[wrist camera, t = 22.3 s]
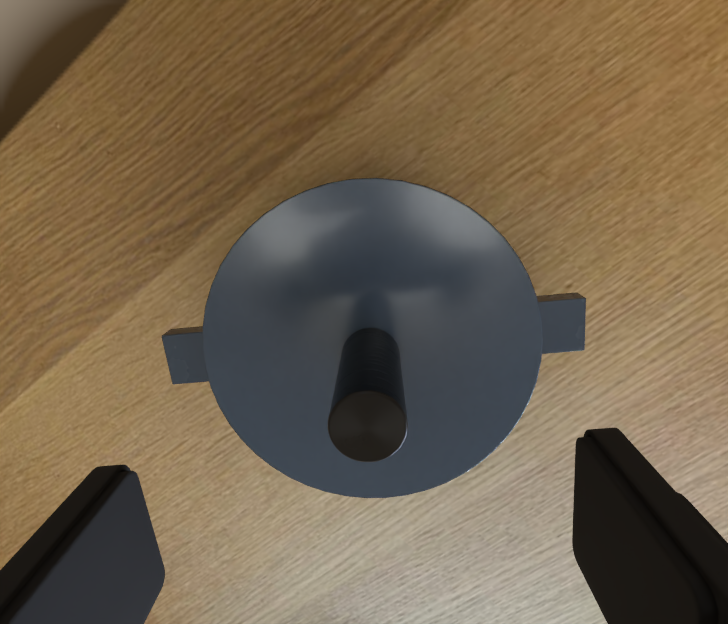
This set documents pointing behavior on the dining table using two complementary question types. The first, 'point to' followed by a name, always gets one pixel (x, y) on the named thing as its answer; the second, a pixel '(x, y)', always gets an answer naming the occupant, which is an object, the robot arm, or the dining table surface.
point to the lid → (372, 338)
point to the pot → (557, 311)
